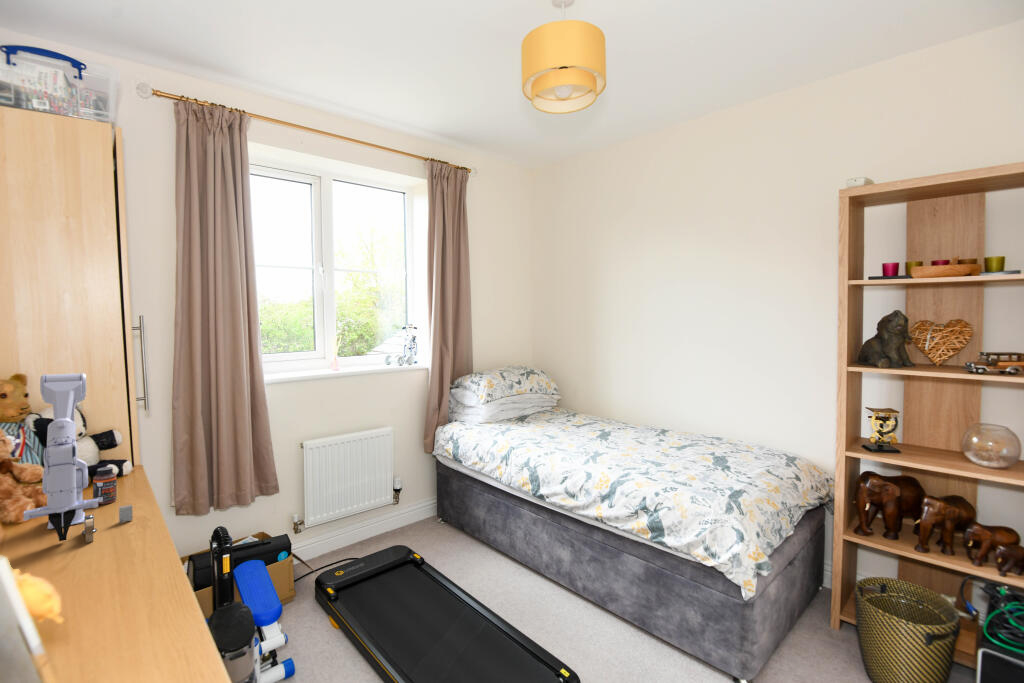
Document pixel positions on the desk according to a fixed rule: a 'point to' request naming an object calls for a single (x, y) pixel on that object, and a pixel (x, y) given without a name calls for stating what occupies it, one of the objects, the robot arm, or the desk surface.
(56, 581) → the desk surface
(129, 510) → the white-faced wooden block
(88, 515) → the pivot post
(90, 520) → the light wooden bar
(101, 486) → the supplement bottle
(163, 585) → the desk surface
